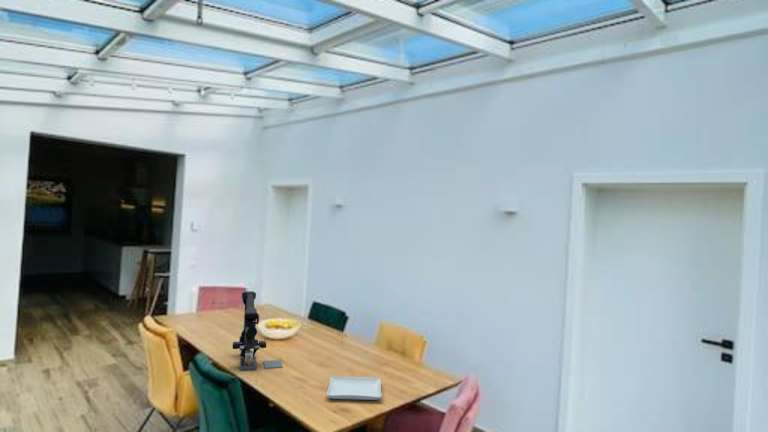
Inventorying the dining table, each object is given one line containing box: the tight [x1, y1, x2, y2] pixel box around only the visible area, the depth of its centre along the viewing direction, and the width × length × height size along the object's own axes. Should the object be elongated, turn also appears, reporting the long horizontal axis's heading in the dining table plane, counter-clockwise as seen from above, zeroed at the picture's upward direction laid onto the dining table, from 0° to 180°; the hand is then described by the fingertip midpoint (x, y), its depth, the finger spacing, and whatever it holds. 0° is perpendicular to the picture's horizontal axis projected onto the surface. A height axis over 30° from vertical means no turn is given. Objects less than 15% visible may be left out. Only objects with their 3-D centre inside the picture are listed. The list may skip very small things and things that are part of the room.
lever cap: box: [245, 349, 253, 362], centre depth 268 cm, size 6×4×6 cm, turn 18°
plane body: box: [239, 356, 258, 372], centre depth 268 cm, size 16×9×6 cm, turn 18°
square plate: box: [326, 376, 383, 401], centre depth 237 cm, size 27×27×4 cm
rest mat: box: [263, 359, 284, 370], centre depth 273 cm, size 13×10×1 cm
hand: (248, 359), depth 268 cm, fingers closed on lever cap, 4 cm apart
